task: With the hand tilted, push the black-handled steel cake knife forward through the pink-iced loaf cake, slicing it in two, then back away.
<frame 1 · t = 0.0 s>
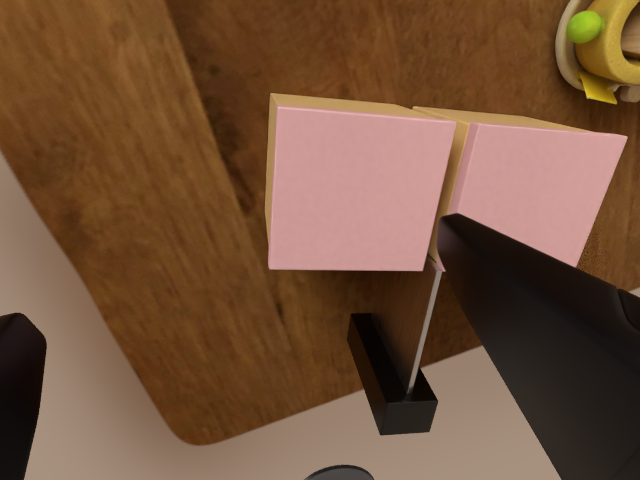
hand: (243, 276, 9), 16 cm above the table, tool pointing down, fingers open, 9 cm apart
loaf cake: (394, 162, 26), on the table
cake knife: (396, 315, 25), point 5 cm above the table, slide at 0.0 cm
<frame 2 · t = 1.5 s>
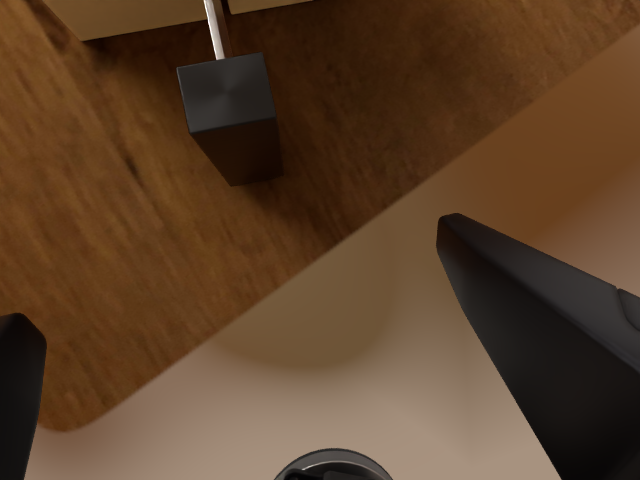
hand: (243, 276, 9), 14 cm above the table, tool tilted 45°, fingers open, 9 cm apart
cake knife: (224, 51, 18), point 5 cm above the table, slide at 0.0 cm
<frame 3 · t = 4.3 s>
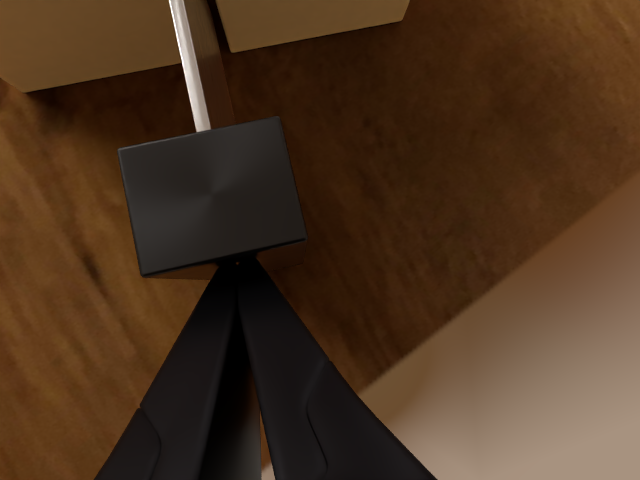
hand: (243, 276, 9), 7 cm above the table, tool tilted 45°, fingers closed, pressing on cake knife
cake knife: (216, 97, 12), point 5 cm above the table, slide at 0.7 cm, touching gripper
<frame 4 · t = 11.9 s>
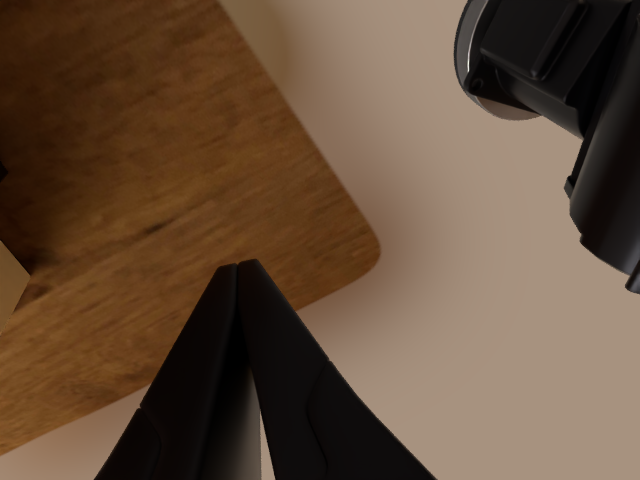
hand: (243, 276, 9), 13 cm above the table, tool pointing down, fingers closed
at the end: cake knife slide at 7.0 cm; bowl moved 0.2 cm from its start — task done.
